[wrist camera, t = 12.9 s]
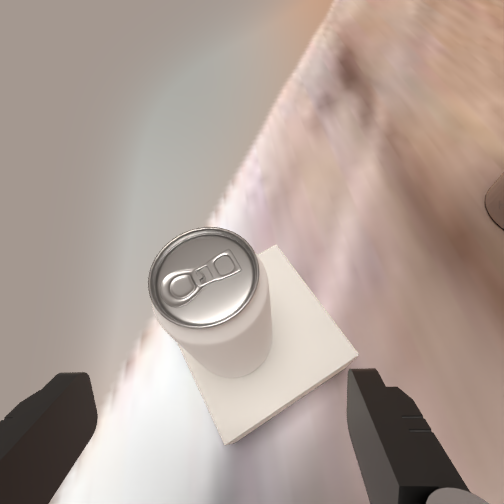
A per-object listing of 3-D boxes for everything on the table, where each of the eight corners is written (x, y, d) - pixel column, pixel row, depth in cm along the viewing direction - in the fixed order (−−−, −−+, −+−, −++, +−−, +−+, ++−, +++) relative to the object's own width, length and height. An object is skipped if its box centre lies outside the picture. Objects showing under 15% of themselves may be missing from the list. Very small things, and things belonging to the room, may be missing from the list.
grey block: (276, 271, 35) (276, 244, 30) (345, 368, 30) (359, 354, 25) (179, 327, 33) (161, 307, 28) (234, 443, 28) (224, 445, 22)
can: (183, 323, 27) (123, 253, 17) (249, 288, 28) (232, 202, 18) (214, 395, 24) (164, 364, 14) (287, 353, 25) (293, 295, 15)
